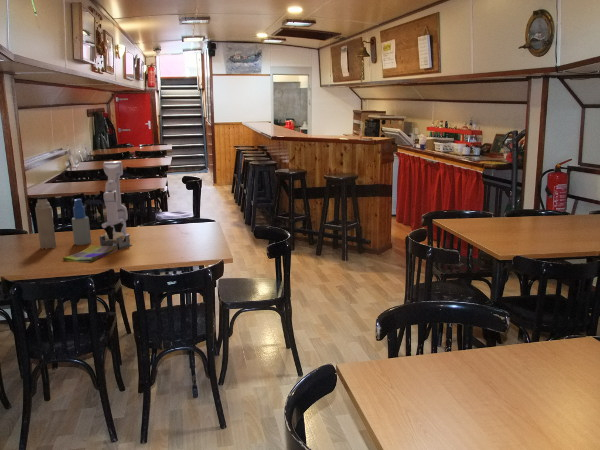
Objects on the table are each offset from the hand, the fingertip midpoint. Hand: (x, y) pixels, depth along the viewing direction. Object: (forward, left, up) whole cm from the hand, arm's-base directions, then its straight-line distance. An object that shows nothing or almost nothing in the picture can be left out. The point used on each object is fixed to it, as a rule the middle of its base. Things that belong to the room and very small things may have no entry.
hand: (114, 238), depth 305 cm
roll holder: (0, 0, -5) cm, 5 cm away
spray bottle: (-23, -1, -5) cm, 24 cm away
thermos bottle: (-34, -15, -5) cm, 37 cm away
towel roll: (0, 0, +1) cm, 1 cm away
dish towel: (+1, -18, -6) cm, 19 cm away
